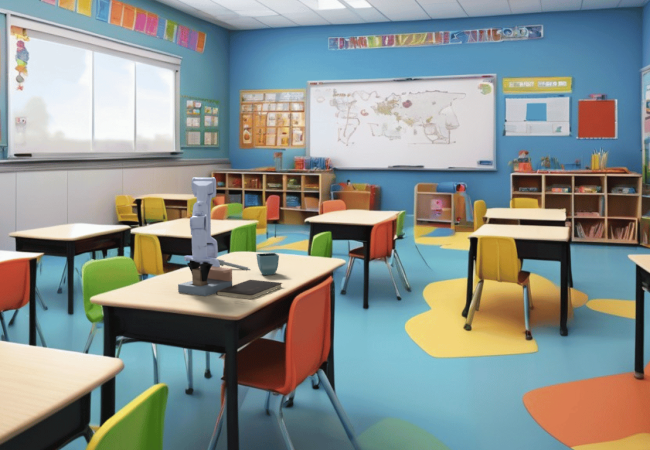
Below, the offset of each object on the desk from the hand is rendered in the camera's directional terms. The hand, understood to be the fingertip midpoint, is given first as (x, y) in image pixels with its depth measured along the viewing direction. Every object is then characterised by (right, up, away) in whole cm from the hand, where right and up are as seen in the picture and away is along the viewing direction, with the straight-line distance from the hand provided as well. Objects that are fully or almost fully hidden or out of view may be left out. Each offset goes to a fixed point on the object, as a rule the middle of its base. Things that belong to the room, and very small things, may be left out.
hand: (200, 280), depth 236 cm
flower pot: (+23, -1, +35) cm, 42 cm away
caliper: (+4, +1, +48) cm, 48 cm away
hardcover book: (+20, -5, +2) cm, 20 cm away
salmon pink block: (+4, -1, +7) cm, 8 cm away
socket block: (+2, -4, +3) cm, 5 cm away
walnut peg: (0, -3, 0) cm, 3 cm away
